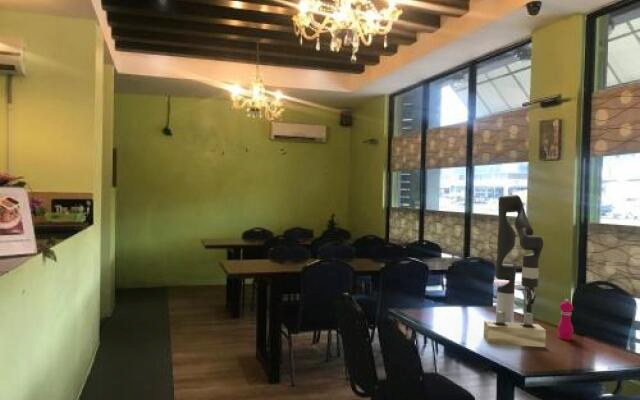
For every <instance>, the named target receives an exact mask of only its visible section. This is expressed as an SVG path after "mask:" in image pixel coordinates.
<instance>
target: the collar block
mask: <svg viewBox="0 0 640 400" xmlns="http://www.w3.org/2000/svg"><path fill="white" fill-rule="evenodd" d="M546 333H547V329H545V328H544V327H542V326H541V325H539V323H533V326H532V327H524V322H513V323H512V322H505V325H496V320H495V321H494V320H483V338H484V339H485V340H486V342H487V344H498V345H500V344H501V345H508V346H524V347H539V348H546Z"/></svg>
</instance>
